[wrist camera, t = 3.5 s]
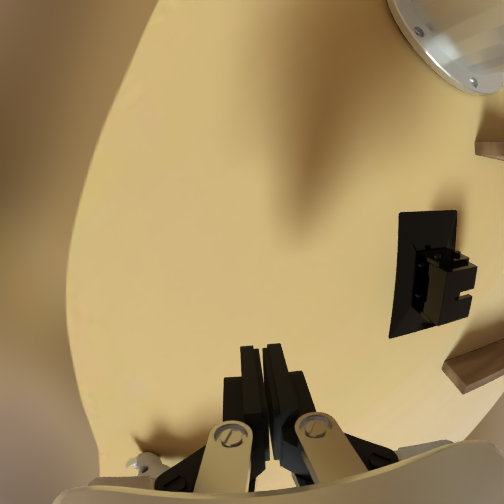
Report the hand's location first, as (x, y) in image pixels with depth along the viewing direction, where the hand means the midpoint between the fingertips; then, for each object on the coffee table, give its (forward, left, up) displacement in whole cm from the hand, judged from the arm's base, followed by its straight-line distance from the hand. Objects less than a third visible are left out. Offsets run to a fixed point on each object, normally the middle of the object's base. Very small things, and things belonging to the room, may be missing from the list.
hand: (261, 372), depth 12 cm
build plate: (-1, +13, -8) cm, 15 cm away
